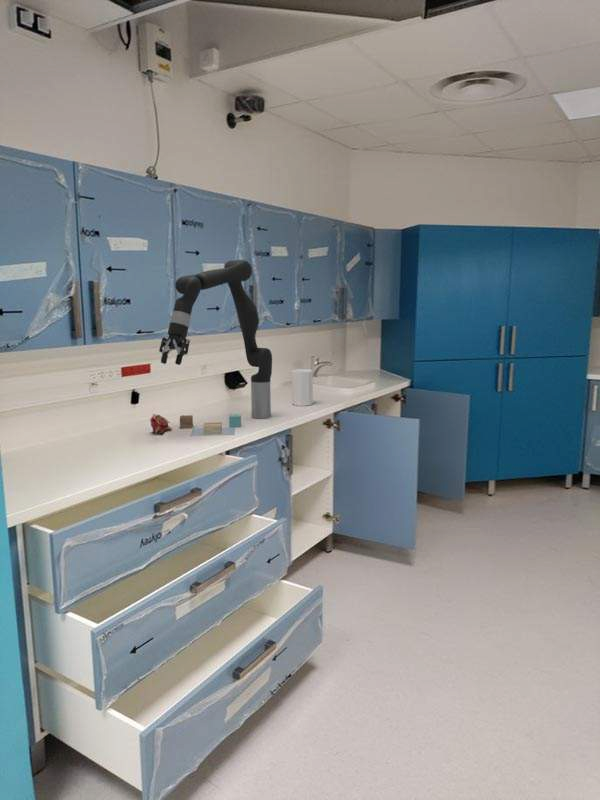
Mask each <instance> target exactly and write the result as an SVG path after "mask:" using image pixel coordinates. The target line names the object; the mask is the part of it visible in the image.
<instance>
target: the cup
mask: <svg viewBox="0 0 600 800" xmlns="http://www.w3.org/2000/svg"><path fill="white" fill-rule="evenodd" d="M313 372H314V371H313V370H312V369H308V368H307V369H306V368H305V369H303V368H302V369H301V368H300V369H292V370H291V404H292V405H293V404H294V405H300V406H299V407H307V406H306V405H310V406H312V405H314V404H313V403H314V401H313V399H314V395H313V393H314V391H313V390H314V387H313V385H314V384H313V383H314V375H313V374H314V373H313ZM294 405H293V406H294Z"/></svg>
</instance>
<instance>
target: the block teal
mask: <svg viewBox="0 0 600 800" xmlns="http://www.w3.org/2000/svg"><path fill="white" fill-rule="evenodd" d="M228 421H229V422H228V425H229V426H228V428H233V427H235V428H241V427H242V414H240V413H239V414H233V413H231V414H229V415H228Z"/></svg>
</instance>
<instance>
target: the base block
mask: <svg viewBox="0 0 600 800" xmlns="http://www.w3.org/2000/svg"><path fill="white" fill-rule="evenodd" d="M222 425H223V424H222V421H204V423H203V428H204V435H208V436H211V435H210V434H221V432H222V428H223V426H222Z"/></svg>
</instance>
